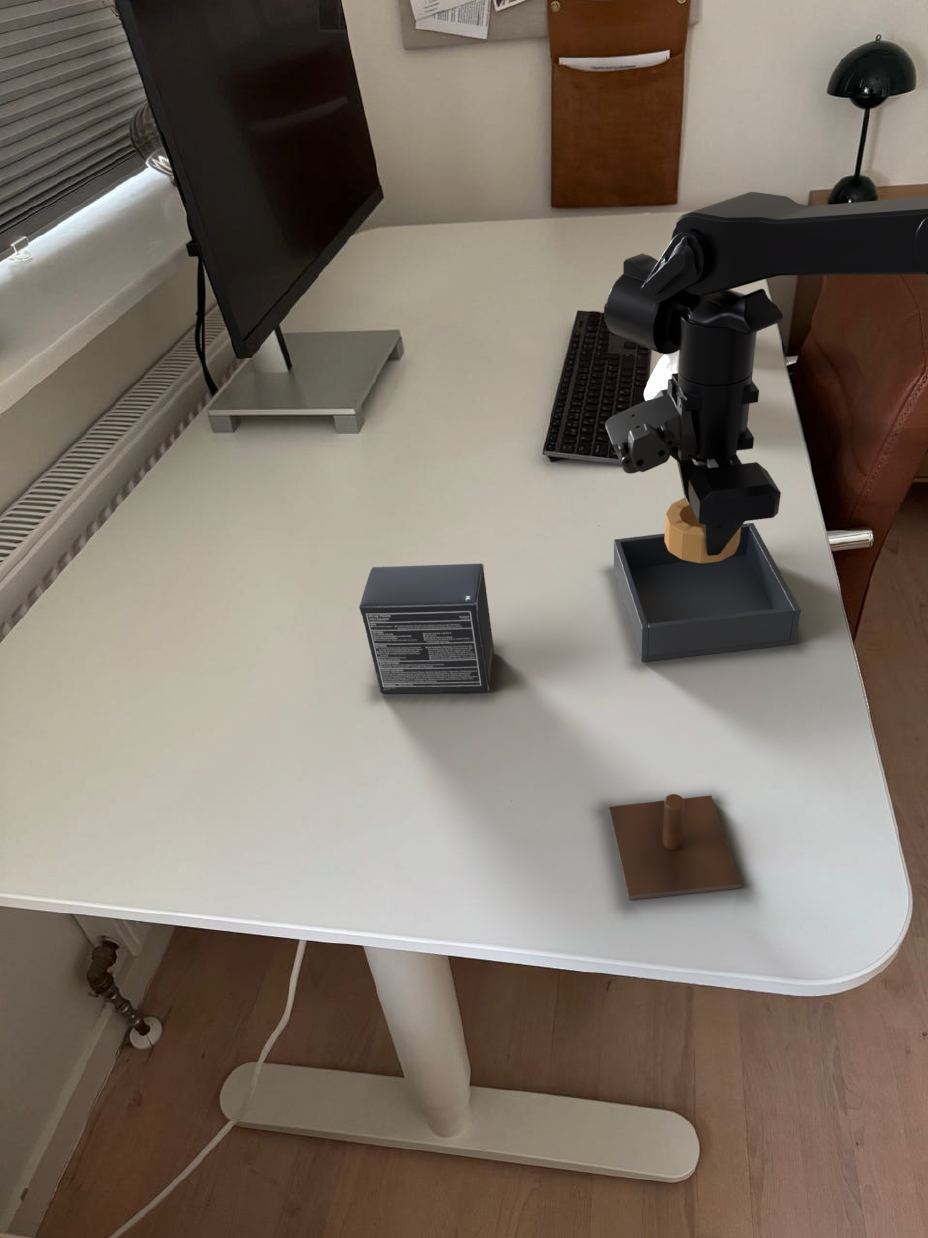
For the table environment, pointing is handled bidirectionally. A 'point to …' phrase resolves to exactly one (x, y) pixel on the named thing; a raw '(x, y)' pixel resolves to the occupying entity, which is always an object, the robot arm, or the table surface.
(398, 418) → the table surface
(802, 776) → the table surface
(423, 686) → the small box
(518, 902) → the table surface
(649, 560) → the tray
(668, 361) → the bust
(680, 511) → the tape
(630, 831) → the wooden peg board
